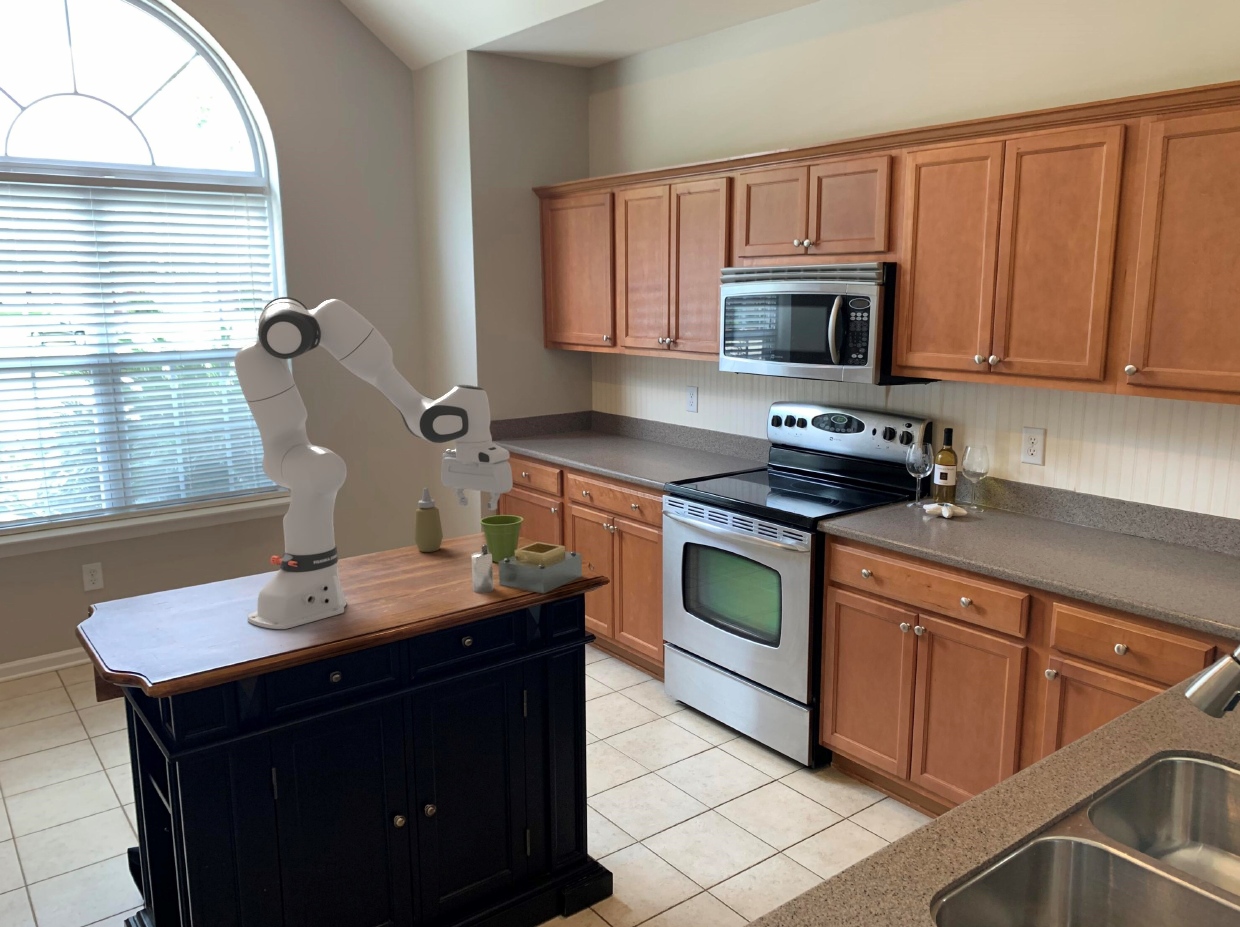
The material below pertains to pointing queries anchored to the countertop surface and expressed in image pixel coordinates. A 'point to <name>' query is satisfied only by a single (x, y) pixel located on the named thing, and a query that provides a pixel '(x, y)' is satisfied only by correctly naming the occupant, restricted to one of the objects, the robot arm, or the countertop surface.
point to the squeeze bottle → (427, 524)
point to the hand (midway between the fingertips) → (477, 507)
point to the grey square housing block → (540, 567)
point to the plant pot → (501, 535)
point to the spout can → (482, 571)
